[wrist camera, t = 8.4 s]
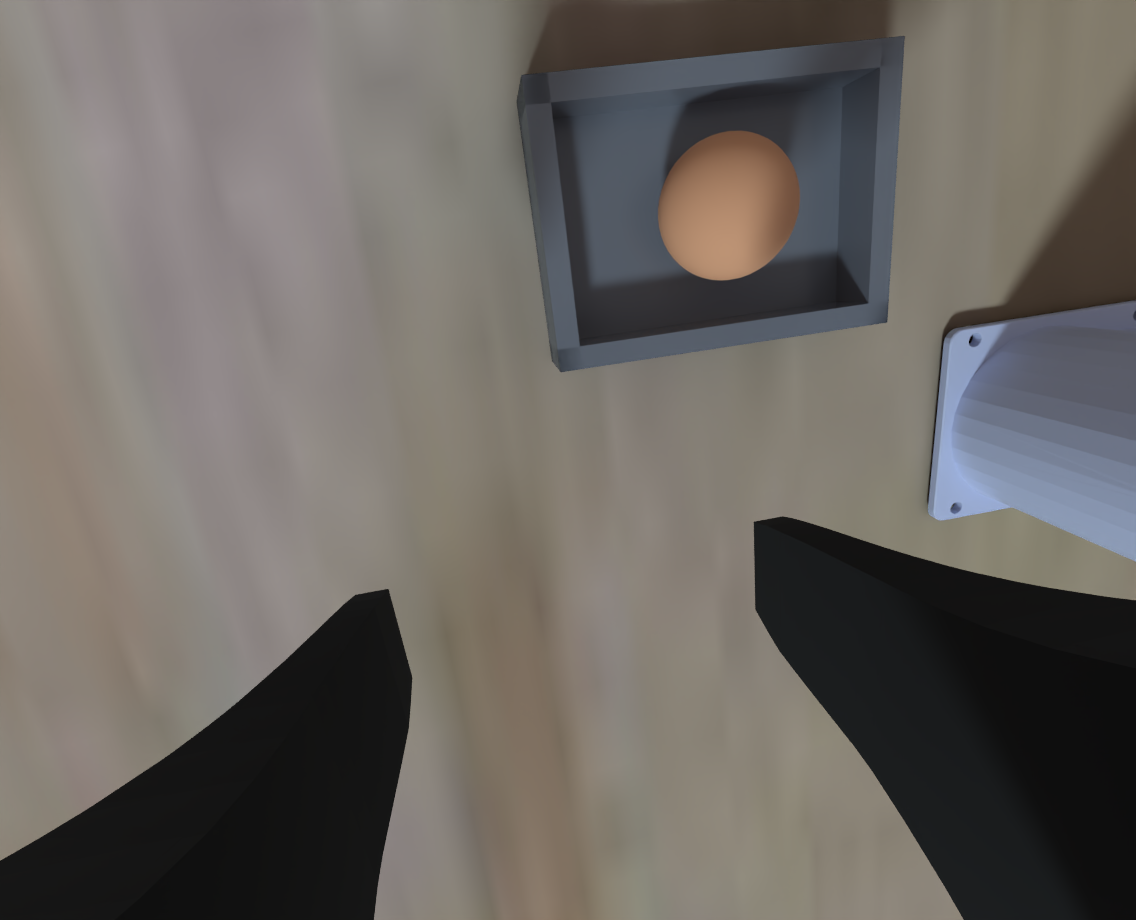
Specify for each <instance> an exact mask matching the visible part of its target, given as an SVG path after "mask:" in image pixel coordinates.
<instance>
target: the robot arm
mask: <svg viewBox="0 0 1136 920" xmlns="http://www.w3.org/2000/svg"><path fill="white" fill-rule="evenodd" d="M972 335H973V340H972V342H971V343H970V344H969V339H970V337H971V336H972ZM953 504H954V506H953V507H952V508H951V506H952V505H953ZM1010 507H1013V508H1015V509H1017V510H1020V511H1022V512H1024V513H1027V514H1029V515H1031V516H1033V517H1036V518H1038V519H1040V520H1043V521H1045V522H1047V523H1049V524H1052V525H1054V526H1056V527H1058V528H1061V529H1063V530H1065V531H1068V532H1070V533H1072V534H1074V535H1077V536H1079V537H1081V538H1084V539H1086V540H1088V541H1090V542H1093V543H1095V544H1097V545H1099V546H1102V547H1104V548H1106V549H1109V550H1111V551H1113V552H1115V553H1118V554H1120V555H1122V556H1125V557H1127V558H1129V559H1131V560H1134V561H1136V300H1133V301H1127V302H1120V303H1114V304H1107V305H1101V306H1094V307H1088V308H1082V309H1075V310H1069V311H1062V312H1056V313H1049V314H1043V315H1037V316H1030V317H1024V318H1017V319H1011V320H1004V321H998V322H991V323H985V324H979V325H972V326H966V327H959V328H955V329H953V330H951V331H950V332H949V333H948V334H947V336H946V337H945V340H944V345H943V356H942V366H941V377H940V388H939V398H938V409H937V419H936V430H935V440H934V451H933V461H932V472H931V482H930V493H929V503H928V513H929V514H930V516H932V517H934V518H936V519H938V520H947V519H952V518H958V517H963V516H968V515H974V514H979V513H984V512H989V511H995V510H1000V509H1005V508H1010ZM950 508H951V509H950ZM754 556H755V609H756V611H757V613H758V615H759V617H760V618H761V620H762V622H763V624H764V625H765V627H766V629H767V631H768V633H769V634H770V636H771V638H772V639H773V641H774V643H775V644H776V646H777V647H778V649H779V651H780V652H781V653H782V655H783V656H784V657H785V659H786V660H787V661H788V663H789V664H790V665H791V667H792V668H793V669H794V670H795V672H796V673H797V674H798V676H799V677H800V678H801V680H802V681H803V682H804V683H805V685H806V686H807V687H808V688H809V690H810V691H811V692H812V693H813V695H814V696H815V697H816V699H817V700H818V701H819V702H820V704H821V705H822V706H823V707H824V709H825V710H826V711H827V712H828V714H829V715H830V716H831V717H832V719H833V720H834V721H835V723H836V724H837V725H838V726H839V728H840V729H841V730H842V731H843V733H844V734H845V735H846V736H847V738H848V739H849V740H850V742H851V743H852V744H853V745H854V747H855V748H856V749H857V751H858V752H859V753H860V755H861V756H862V758H863V759H864V760H865V762H866V763H867V764H868V766H869V767H870V769H871V770H872V771H873V773H874V774H875V776H876V778H877V779H878V781H879V782H880V784H881V785H882V787H883V788H884V790H885V792H886V793H887V795H888V796H889V798H890V799H891V801H892V802H893V804H894V805H895V807H896V809H897V810H898V812H899V813H900V815H901V816H902V818H903V819H904V821H905V823H906V824H907V826H908V827H909V829H910V831H911V832H912V834H913V836H914V837H915V839H916V840H917V842H918V844H919V845H920V847H921V849H922V850H923V852H924V853H925V855H926V857H927V858H928V860H929V862H930V863H931V865H932V867H933V868H934V870H935V871H936V873H937V875H938V876H939V878H940V880H941V881H942V883H943V885H944V886H945V888H946V890H947V891H948V893H949V895H950V897H951V898H952V900H953V902H954V903H955V905H956V907H957V909H958V910H959V912H960V914H961V916H962V917H963V919H964V920H1136V600H1128V599H1119V598H1111V597H1104V596H1098V595H1091V594H1085V593H1078V592H1072V591H1065V590H1059V589H1053V588H1047V587H1041V586H1036V585H1030V584H1025V583H1020V582H1015V581H1011V580H1006V579H1001V578H997V577H992V576H988V575H983V574H978V573H974V572H970V571H966V570H962V569H958V568H954V567H950V566H946V565H942V564H939V563H935V562H932V561H928V560H925V559H921V558H917V557H914V556H910V555H907V554H904V553H901V552H897V551H894V550H891V549H888V548H884V547H881V546H878V545H875V544H872V543H869V542H866V541H863V540H860V539H857V538H854V537H851V536H848V535H845V534H842V533H839V532H836V531H833V530H830V529H827V528H823V527H820V526H817V525H814V524H811V523H807V522H804V521H800V520H797V519H793V518H788V517H778V518H772V519H767V520H761V521H756V522H754ZM411 690H412V675H411V671H410V667H409V664H408V660H407V656H406V653H405V649H404V645H403V641H402V638H401V634H400V630H399V627H398V623H397V619H396V616H395V612H394V608H393V604H392V601H391V597H390V593H389V590H388V589H385V590H380V591H374V592H369V593H364V594H358V595H355V596H354V597H352V598H351V599H350V600H349V601H347V602H346V603H345V604H344V605H343V606H342V607H341V608H340V609H339V610H338V611H337V612H335V613H334V614H333V615H332V616H331V617H330V618H329V619H328V620H327V621H326V622H325V623H324V624H323V625H322V626H321V627H320V628H319V629H318V630H317V631H316V632H315V633H314V634H313V635H312V636H310V637H309V638H308V639H307V640H306V641H305V642H304V643H303V644H302V645H301V646H300V647H299V648H298V649H297V650H296V651H295V652H294V653H293V654H292V655H290V656H289V657H288V658H287V659H286V660H285V661H284V662H283V663H282V664H281V665H280V666H278V667H277V668H276V669H275V670H274V671H273V672H272V673H270V674H269V675H268V676H267V677H266V678H265V679H264V680H262V681H261V682H260V683H259V684H258V685H257V686H256V687H254V688H253V689H252V690H251V691H250V692H249V693H248V694H247V695H245V696H244V697H243V698H242V699H241V700H240V701H239V702H237V703H236V704H235V705H234V706H232V707H231V708H230V709H229V710H228V711H226V712H225V713H224V714H223V715H221V716H220V717H219V718H218V719H216V720H215V721H214V722H212V723H211V724H210V725H209V726H207V727H206V728H205V729H203V730H202V731H201V732H199V733H198V734H197V735H195V736H194V737H193V738H191V739H190V740H189V741H187V742H186V743H185V744H183V745H182V746H181V747H179V748H178V749H177V750H175V751H174V752H172V753H171V754H170V755H168V756H167V757H165V758H164V759H163V760H161V761H160V762H158V763H157V764H155V765H154V766H152V767H151V768H149V769H148V770H146V771H144V772H143V773H141V774H140V775H138V776H137V777H135V778H134V779H132V780H131V781H129V782H128V783H126V784H125V785H123V786H122V787H120V788H119V789H117V790H116V791H114V792H113V793H111V794H110V795H108V796H107V797H105V798H104V799H102V800H101V801H99V802H98V803H96V804H95V805H93V806H92V807H90V808H89V809H87V810H85V811H84V812H82V813H81V814H79V815H77V816H76V817H74V818H72V819H71V820H69V821H67V822H66V823H64V824H62V825H61V826H59V827H57V828H56V829H54V830H52V831H51V832H49V833H47V834H46V835H44V836H42V837H41V838H39V839H37V840H36V841H34V842H32V843H30V844H29V845H27V846H25V847H23V848H22V849H20V850H18V851H17V852H15V853H13V854H11V855H10V856H8V857H6V858H4V859H3V860H1V861H0V920H374V913H375V904H376V895H377V887H378V880H379V874H380V868H381V862H382V856H383V851H384V846H385V841H386V836H387V831H388V827H389V822H390V817H391V812H392V808H393V803H394V798H395V793H396V788H397V784H398V779H399V774H400V769H401V764H402V759H403V754H404V749H405V744H406V739H407V734H408V729H409V718H410V706H411Z"/></svg>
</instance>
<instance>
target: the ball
mask: <svg viewBox="0 0 1136 920" xmlns="http://www.w3.org/2000/svg"><path fill="white" fill-rule="evenodd" d="M799 205H800V188H799V182H798V178H797V175H796V172H795V169H794V167H793V165H792V163H791V161H790V160H789V158H788V157H787V155H786V154H785V153H784V152H783V150H782V149H781V148H780V147H779V146H778V145H776V144H775V143H774V142H772V141H771V140H769V139H768V138H766V137H764V136H761V135H759V134H756V133H752V132H748V131H726V132H721V133H717V134H714V135H711V136H709V137H707V138H705V139H703V140H701V141H699V142H698V143H696V144H695V145H693V146H692V147H691V148H689V149H688V150H687V151H686V152H685V153H684V154H683V155H682V156H681V157H680V158H679V159H678V160H677V162H676V163H675V164H674V166H673V167H672V169H671V170H670V172H669V174H668V176H667V178H666V180H665V182H664V185H663V188H662V190H661V194H660V198H659V205H658V223H659V229H660V233H661V237H662V240H663V242H664V245H665V246H666V248H667V250H668V252H669V253H670V255H671V256H672V257H673V259H674V260H675V261H676V262H677V263H678V264H679V265H680V266H682V267H683V268H684V269H686V270H687V271H689V272H690V273H692V274H694V275H696V276H699V277H702V278H706V279H710V280H731V279H736V278H741V277H744V276H747V275H749V274H751V273H753V272H755V271H757V270H759V269H760V268H762V267H763V266H765V265H766V264H767V263H769V262H770V261H771V260H772V259H773V258H774V257H775V256H776V255H777V254H778V253H779V252H780V250H781V249H782V248H783V246H784V245H785V244H786V242H787V241H788V239H789V237H790V235H791V233H792V231H793V228H794V226H795V223H796V220H797V216H798V212H799Z"/></svg>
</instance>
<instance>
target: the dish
mask: <svg viewBox="0 0 1136 920" xmlns="http://www.w3.org/2000/svg"><path fill="white" fill-rule="evenodd" d="M904 38H905V36H899V37H889V38H879V39H869V40H860V41H850V42H840V43H830V44H821V45H811V46H801V47H791V48H781V49H772V50H762V51H752V52H742V53H732V54H723V55H713V56H703V57H693V58H683V59H674V60H664V61H654V62H644V63H634V64H625V65H615V66H605V67H595V68H585V69H576V70H566V71H556V72H546V73H536V74H527V75H521V80H520V86H519V91H518V97H517V108H518V115H519V122H520V130H521V137H522V144H523V152H524V159H525V166H526V174H527V181H528V188H529V196H530V203H531V210H532V218H533V225H534V232H535V240H536V247H537V254H538V262H539V269H540V277H541V284H542V291H543V299H544V306H545V313H546V321H547V328H548V335H549V343H550V350H551V357H552V362H553V363H554V364H555V366H556V367H557V368H558V369H559V371H560V372H565V371H571V370H578V369H584V368H591V367H597V366H604V365H611V364H617V363H624V362H630V361H637V360H643V359H650V358H657V357H663V356H670V355H676V354H683V353H689V352H696V351H702V350H709V349H716V348H722V347H729V346H735V345H742V344H748V343H755V342H761V341H768V340H775V339H781V338H788V337H794V336H801V335H807V334H814V333H820V332H827V331H834V330H840V329H847V328H853V327H860V326H866V325H873V324H879V323H886V322H887V317H888V301H889V284H890V268H891V251H892V235H893V219H894V202H895V186H896V169H897V153H898V137H899V120H900V104H901V88H902V71H903V55H904ZM726 131H748V132H752V133H756V134H759V135H761V136H764V137H766V138H768V139H769V140H771V141H772V142H774V143H775V144H776V145H778V146H779V147H780V148H781V149H782V150H783V152H784V153H785V154H786V155H787V157H788V158H789V160H790V161H791V163H792V165H793V167H794V169H795V172H796V175H797V178H798V182H799V188H800V205H799V212H798V216H797V220H796V223H795V226H794V228H793V231H792V233H791V235H790V237H789V239H788V241H787V242H786V244H785V245H784V246H783V248H782V249H781V250H780V252H779V253H778V254H777V255H776V256H775V257H774V258H773V259H772V260H771V261H770V262H769V263H767V264H766V265H765V266H763V267H762V268H760V269H759V270H757V271H755V272H753V273H751V274H749V275H747V276H744V277H741V278H736V279H731V280H710V279H706V278H702V277H699V276H696V275H694V274H692V273H690V272H689V271H687V270H686V269H684V268H683V267H682V266H680V265H679V264H678V263H677V262H676V261H675V260H674V259H673V257H672V256H671V255H670V253H669V252H668V250H667V248H666V246H665V245H664V242H663V240H662V237H661V233H660V229H659V223H658V205H659V198H660V194H661V190H662V188H663V185H664V182H665V180H666V178H667V176H668V174H669V172H670V170H671V169H672V167H673V166H674V164H675V163H676V162H677V160H678V159H679V158H680V157H681V156H682V155H683V154H684V153H685V152H686V151H687V150H688V149H689V148H691V147H692V146H693V145H695V144H696V143H698V142H699V141H701V140H703V139H705V138H707V137H709V136H711V135H714V134H717V133H721V132H726Z"/></svg>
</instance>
